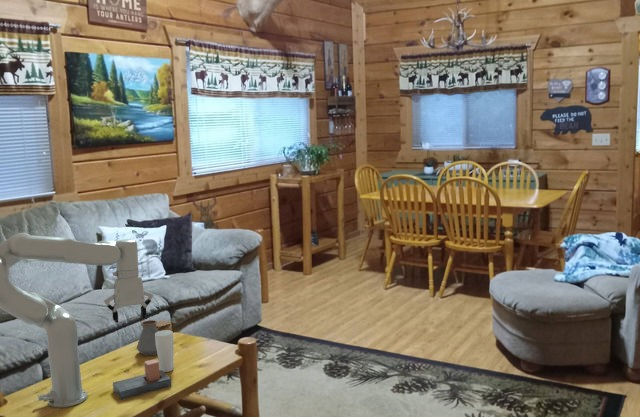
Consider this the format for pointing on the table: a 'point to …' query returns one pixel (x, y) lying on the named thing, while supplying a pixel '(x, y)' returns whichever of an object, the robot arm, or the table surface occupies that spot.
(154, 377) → the square peg
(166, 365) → the drinking glass
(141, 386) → the square hole plate
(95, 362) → the table surface
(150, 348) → the coffee pot
